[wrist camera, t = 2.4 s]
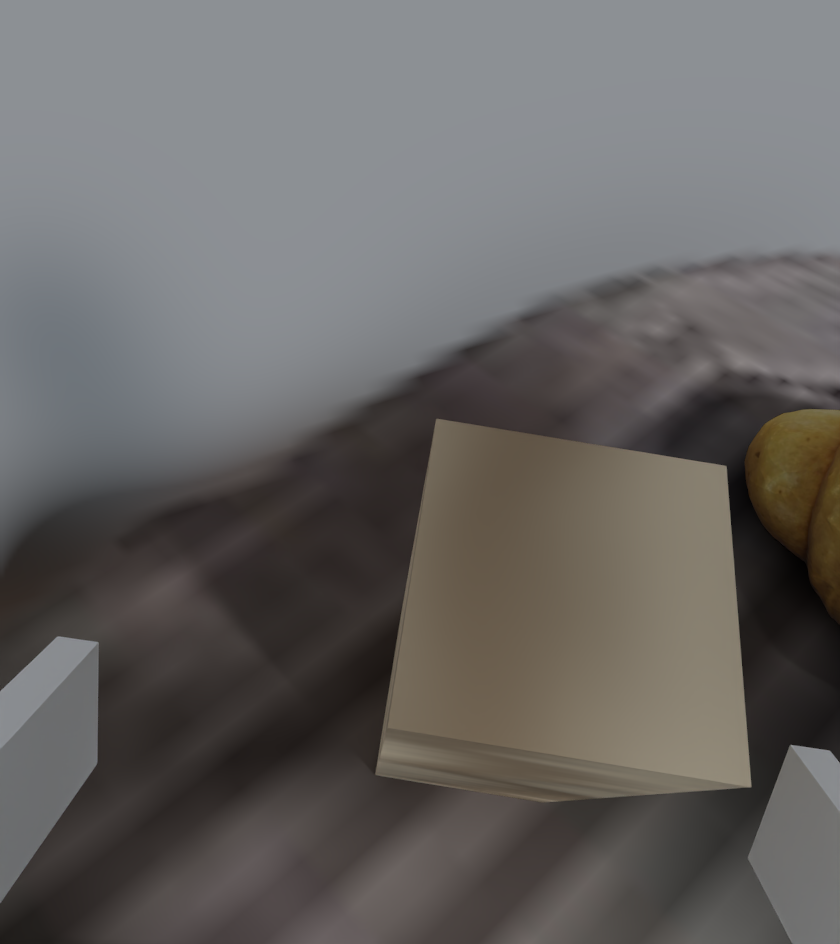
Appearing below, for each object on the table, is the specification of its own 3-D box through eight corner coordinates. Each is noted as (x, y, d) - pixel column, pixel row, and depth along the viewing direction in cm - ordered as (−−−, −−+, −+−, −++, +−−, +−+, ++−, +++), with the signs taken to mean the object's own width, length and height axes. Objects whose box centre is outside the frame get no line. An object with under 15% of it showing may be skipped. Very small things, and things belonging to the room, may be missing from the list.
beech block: (551, 634, 22) (726, 465, 11) (542, 802, 20) (751, 786, 9) (401, 610, 22) (436, 418, 11) (375, 774, 20) (387, 727, 9)
